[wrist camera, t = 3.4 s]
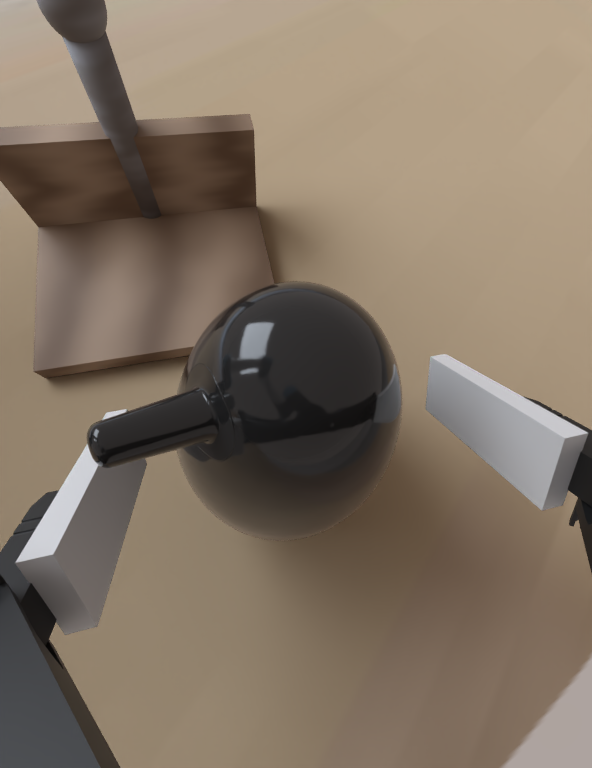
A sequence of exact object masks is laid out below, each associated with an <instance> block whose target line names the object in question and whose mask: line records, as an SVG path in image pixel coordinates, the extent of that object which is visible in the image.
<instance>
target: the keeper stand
mask: <svg viewBox="0 0 592 768" xmlns="http://www.w3.org/2000/svg"><path fill="white" fill-rule="evenodd" d="M37 3H38V5H39V7H40V9H41V11H42V13H43V15H44V16H45V18H46V19H47V21H48V22H49V23H50V25H51V26H52V27H53V28H54V29H55V30H56V31H57V32H58V33H59V34H60V35H61V36H62V37H63V39H64V42H65V44H66V46H67V49H68V51H69V53H70V55H71V58H72V60H73V62H74V65H75V67H76V69H77V72H78V74H79V76H80V78H81V81H82V83H83V85H84V88H85V90H86V92H87V94H88V97H89V99H90V101H91V104H92V106H93V108H94V111H95V113H96V115H97V117H98V120H99V122H93V123H75V124H56V125H38V126H19V127H0V181H1V182H2V183H3V184H4V186H5V187H6V188H7V189H8V191H9V192H10V193H11V194H12V195H13V197H14V198H15V199H16V200H17V201H18V203H19V204H20V205H21V206H22V208H23V209H24V210H25V211H26V212H27V214H28V215H29V216H30V217H31V218H32V220H33V221H34V222H35V223H36V225H37V226H38V227H39V228H38V256H37V285H36V313H35V342H34V372H36V373H37V374H39V375H41V376H43V377H44V378H50V377H56V376H62V375H69V374H75V373H81V372H87V371H94V370H100V369H106V368H113V367H119V366H125V365H132V364H138V363H144V362H150V361H157V360H163V359H169V358H176V357H182V356H188V355H190V353H191V351H192V350H193V348H194V346H195V344H196V342H197V340H198V339H199V337H200V336H201V334H202V333H203V331H204V330H205V329H206V327H207V326H208V325H209V324H210V322H211V321H212V320H213V319H214V318H215V317H216V316H217V315H218V314H219V313H220V312H221V311H222V310H224V309H225V308H226V307H227V306H228V305H230V304H231V303H232V302H234V301H235V300H237V299H239V298H240V297H242V296H244V295H245V294H247V293H249V292H251V291H254V290H256V289H258V288H261V287H264V286H267V285H271V284H275V283H274V279H273V275H272V271H271V266H270V262H269V258H268V254H267V249H266V245H265V241H264V237H263V232H262V228H261V224H260V219H259V215H258V211H257V207H256V179H255V149H254V128H253V124H252V121H251V117H250V114H242V115H223V116H205V117H186V118H167V119H149V120H135V117H134V114H133V111H132V108H131V105H130V102H129V99H128V96H127V93H126V90H125V87H124V84H123V81H122V78H121V75H120V72H119V69H118V67H117V64H116V61H115V58H114V55H113V52H112V49H111V46H110V43H109V40H108V37H107V34H106V31H105V30H106V26H107V10H106V5H105V1H104V0H37Z"/></svg>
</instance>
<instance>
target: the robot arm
mask: <svg viewBox="0 0 592 768" xmlns="http://www.w3.org/2000/svg"><path fill="white" fill-rule="evenodd" d="M426 410H427V411H428V412H430V413H431V414H432V415H433V416H434V417H435V418H436V419H438V420H439V421H440V422H441V423H442V424H443V425H444V426H446V427H447V428H448V429H449V430H450V431H451V432H452V433H454V434H455V435H456V436H457V437H458V438H459V439H460V440H462V441H463V442H464V443H465V444H466V445H467V446H468V447H470V448H471V449H472V450H473V451H474V452H475V453H476V454H478V455H479V456H480V457H481V458H482V459H483V460H484V461H486V462H487V463H488V464H489V465H490V466H491V467H492V468H494V469H495V470H496V471H497V472H498V473H499V474H500V475H502V476H503V477H504V478H505V479H506V480H507V481H508V482H510V483H511V484H512V485H513V486H514V487H515V488H517V489H518V490H519V491H520V492H521V493H522V494H523V495H525V496H526V497H527V498H528V499H529V500H530V501H531V502H533V503H534V504H535V505H536V506H537V507H538V508H539V509H541V510H542V511H543V510H546V509H550V508H554V507H558V506H562V505H563V503H564V501H565V498H566V495H567V492H568V490H569V491H570V492H572V493H573V494H574V495H576V496H577V497H578V500H577V502H576V505H575V508H574V510H573V513H572V515H571V518H570V522H569V525H570V526H574V524H575V521H577V520H579V523H580V528H581V531H582V536H583V540H584V544H585V548H586V552H587V556H588V560H589V564H590V568H591V572H592V430H590V429H588V428H586V427H585V426H583V425H581V424H579V423H577V422H575V421H574V420H572V419H570V418H568V417H566V416H563V415H562V414H561V413H559V412H557V411H555V410H552V409H551V408H550V407H548V406H546V405H544V404H542V403H540V402H538V401H535V400H532V399H529V398H526V397H523V396H521V395H519V394H517V393H515V392H513V391H512V390H510V389H508V388H506V387H504V386H503V385H501V384H499V383H497V382H495V381H494V380H492V379H490V378H488V377H486V376H485V375H483V374H481V373H479V372H477V371H476V370H474V369H472V368H470V367H468V366H466V365H465V364H463V363H461V362H459V361H457V360H456V359H454V358H452V357H450V356H448V355H447V354H443V355H437V356H431V357H430V366H429V376H428V387H427V398H426ZM125 412H128V410H127V409H124V410H119V411H113V412H107V413H106V414H105V416H104V418H103V419H102V420H104V419H107V418H110V417H113V416H116V415H119V414H122V413H125ZM146 465H147V463H146V460H145V459H141V460H137V461H134V462H130V463H126V464H123V465H119V466H115V467H112V468H103V467H101V466H99V465H98V464H96V463H95V461H94V460H93V458H92V456H91V454H90V451H89V448H88V444H87V446H86V447H85V449H84V450H83V452H82V454H81V455H80V457H79V459H78V460H77V462H76V464H75V465H74V467H73V469H72V470H71V472H70V474H69V475H68V477H67V478H66V480H65V482H64V483H63V485H62V487H61V488H60V490H58V491H53V492H48V493H46V494H45V495H44V496H43V497H41V498H40V499H39V500H38V501H37V502H36V503H35V504H34V505H32V506H31V508H30V509H29V511H28V512H27V514H26V515H25V517H24V518H23V520H22V523H21V524H19V525H18V527H17V528H16V530H15V531H14V533H13V536H11V537H10V539H9V540H8V542H7V543H6V545H5V546H4V548H3V549H2V551H1V552H0V768H120V766H119V764H118V762H117V761H116V759H115V757H114V755H113V753H112V751H111V750H110V748H109V746H108V744H107V742H106V740H105V739H104V737H103V735H102V733H101V731H100V730H99V728H98V726H97V724H96V722H95V720H94V719H93V717H92V715H91V713H90V711H89V710H88V708H87V706H86V704H85V702H84V700H83V699H82V697H81V695H80V693H79V691H78V689H77V688H76V686H75V684H74V682H73V680H72V679H71V677H70V675H69V673H68V671H67V669H66V668H65V666H64V664H63V662H62V660H61V659H60V657H59V655H58V653H57V651H56V649H55V648H54V646H53V644H52V643H51V642H50V640H49V637H50V635H51V632H52V630H53V628H54V625H55V623H56V622H57V624H58V625H59V627H60V628H61V630H62V631H63V632H64V634H65V635H67V634H71V633H75V632H78V631H82V630H86V629H90V628H94V627H97V626H98V623H99V620H100V617H101V613H102V610H103V607H104V603H105V600H106V597H107V594H108V590H109V587H110V584H111V580H112V577H113V574H114V571H115V567H116V564H117V561H118V557H119V554H120V551H121V548H122V544H123V541H124V538H125V534H126V531H127V528H128V525H129V521H130V518H131V515H132V511H133V508H134V505H135V502H136V498H137V495H138V492H139V488H140V485H141V482H142V479H143V475H144V472H145V469H146Z"/></svg>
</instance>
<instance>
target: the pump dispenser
mask: <svg viewBox="0 0 592 768" xmlns="http://www.w3.org/2000/svg"><path fill="white" fill-rule="evenodd" d="M401 417H402V388H401V381H400V375H399V370H398V366H397V363H396V359H395V356H394V354H393V351H392V349H391V346H390V344H389V342H388V340H387V338H386V336H385V335H384V333H383V331H382V330H381V328H380V327H379V325H378V324H377V322H376V321H375V320H374V319H373V317H372V316H371V315H370V314H369V313H368V312H367V311H366V310H365V309H364V308H363V307H362V306H361V305H359V304H358V303H357V302H356V301H354V300H353V299H351V298H350V297H348V296H347V295H345V294H343V293H341V292H339V291H337V290H335V289H333V288H330V287H327V286H324V285H321V284H316V283H311V282H301V281H290V282H280V283H275V284H271V285H267V286H264V287H261V288H258V289H256V290H254V291H251V292H249V293H247V294H245V295H244V296H242V297H240V298H239V299H237V300H235V301H234V302H232V303H231V304H230V305H228V306H227V307H226V308H225V309H224V310H222V311H221V312H220V313H219V314H218V315H217V316H216V317H215V318H214V319H213V320H212V321H211V322H210V324H209V325H208V326H207V327H206V329H205V330H204V331H203V333H202V334H201V336H200V337H199V339H198V340H197V342H196V344H195V346H194V348H193V350H192V351H191V353H190V356H189V358H188V360H187V363H186V365H185V368H184V370H183V373H182V376H181V380H180V383H179V387H178V391H177V395H175V396H172V397H169V398H166V399H163V400H160V401H157V402H154V403H151V404H148V405H145V406H142V407H139V408H136V409H133V410H131V411H128V412H125V413H122V414H119V415H116V416H113V417H110V418H107V419H104V420H101V421H98V422H96V423H94V424H92V425H91V426H90V428H89V429H88V432H87V444H88V448H89V451H90V454H91V456H92V458H93V460H94V461H95V463H96V464H98V465H99V466H101V467H103V468H112V467H115V466H119V465H123V464H126V463H130V462H134V461H137V460H141V459H145V458H148V457H152V456H155V455H159V454H163V453H166V452H170V451H174V450H177V453H178V457H179V461H180V464H181V466H182V469H183V472H184V474H185V476H186V478H187V480H188V482H189V484H190V486H191V487H192V489H193V491H194V492H195V494H196V495H197V496H198V498H199V499H200V500H201V502H202V503H203V504H204V505H205V506H206V507H207V508H208V509H209V510H210V512H212V513H213V514H214V515H215V516H216V517H217V518H218V519H220V520H221V521H222V522H224V523H225V524H227V525H228V526H230V527H232V528H234V529H235V530H237V531H240V532H242V533H244V534H247V535H250V536H253V537H257V538H261V539H266V540H276V541H287V540H297V539H302V538H307V537H310V536H313V535H316V534H319V533H321V532H324V531H326V530H328V529H330V528H332V527H333V526H335V525H337V524H338V523H340V522H341V521H343V520H344V519H346V518H347V517H348V516H350V515H351V514H352V513H353V512H354V511H355V510H357V509H358V508H359V507H360V506H361V505H362V504H363V503H364V502H365V500H366V499H367V498H368V497H369V496H370V494H371V493H372V492H373V490H374V489H375V488H376V486H377V485H378V483H379V482H380V480H381V478H382V476H383V475H384V473H385V471H386V469H387V467H388V465H389V462H390V460H391V458H392V455H393V452H394V449H395V446H396V443H397V439H398V435H399V430H400V425H401Z"/></svg>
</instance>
